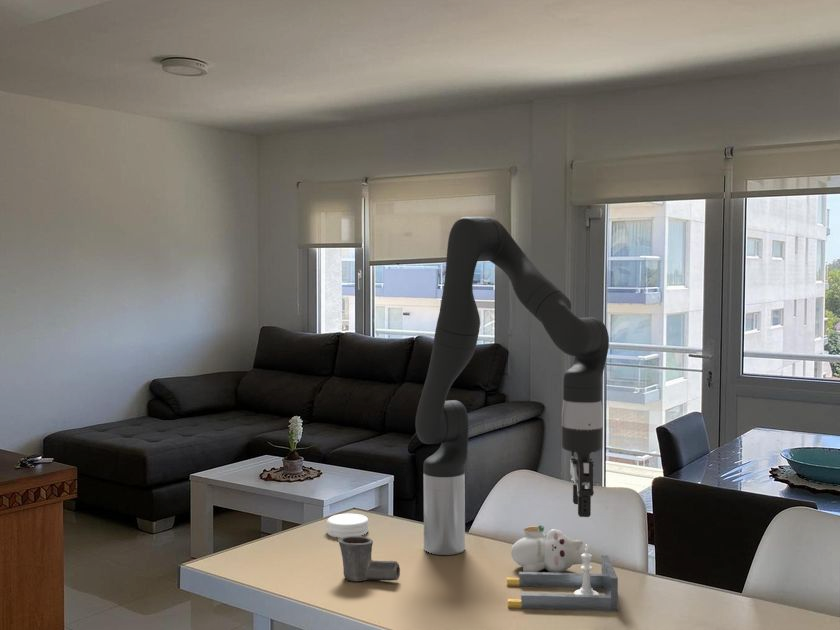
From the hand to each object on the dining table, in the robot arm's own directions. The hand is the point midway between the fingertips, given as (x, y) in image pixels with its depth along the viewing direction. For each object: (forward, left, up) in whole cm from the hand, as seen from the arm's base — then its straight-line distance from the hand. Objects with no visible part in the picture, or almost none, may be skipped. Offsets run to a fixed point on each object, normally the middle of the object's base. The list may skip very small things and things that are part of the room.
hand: (581, 509), depth 148 cm
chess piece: (0, +1, -17) cm, 17 cm away
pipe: (-6, -42, -17) cm, 45 cm away
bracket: (0, -3, -17) cm, 17 cm away
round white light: (-37, -51, -17) cm, 65 cm away
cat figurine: (-14, -5, -17) cm, 22 cm away
